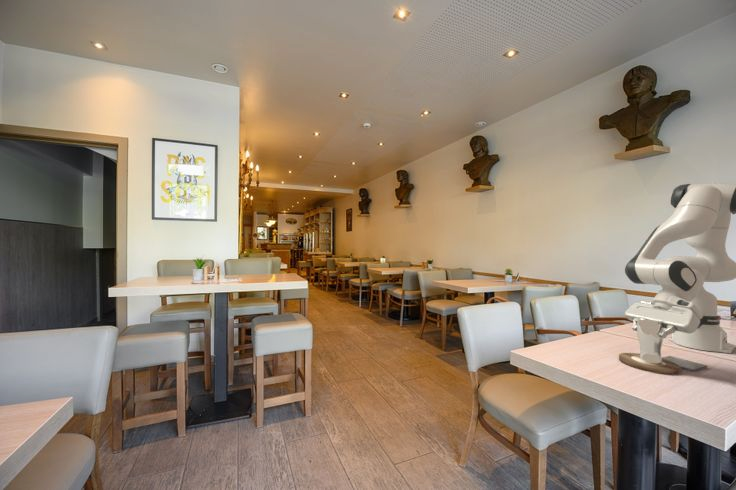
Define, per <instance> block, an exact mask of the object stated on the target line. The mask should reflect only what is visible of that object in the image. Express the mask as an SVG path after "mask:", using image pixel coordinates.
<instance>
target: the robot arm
mask: <svg viewBox="0 0 736 490" xmlns="http://www.w3.org/2000/svg"><path fill="white" fill-rule="evenodd" d="M669 200H670V205H671V206H672V207H673V208H674V209H675V210H674V212H673V213H672V214H671V215H670V216H669V218H667V219H666V221H664V222H663V223H661V224H659V225H658V226H657V227H655V228H654V230H653V231H652V232H651V234H649V236H648V238H646V240H645V241H644V243H643V245H641V246H640V249H639V250H638V251H637V252H636V254H635V255H634V256H633V257H632V258H631V259H630V260H629V261H628V262H627V264H626V265H625V267H624V273H625V276H626V277H627V279H629V281H631V282H632V283H634V284H636V285H637V284H638V285H640V284H641V285H655V286H661V290H659V291H658V293H656V295H655V296H654V297H653V299H652V300H651V301H645V300H640V301H637V302H634V303H633V304H632V305H630V306H629V307H628V308H627V309H626V310H625V312H624V316H625V317H626V318H627V319H628V320H629V321H631V322H632V323H633V325H632V326H631V330H632V331H635V332H637V319H638V317H645V318H644V320H651V321H662V323H663V329H664V330H663V331H660V332H659V333H658V336H659V337H662V338H663V339H666V338H667V337H668V336H670V335H671V336H672V337H668V341H670V342H673V343H674V344H676V345H678V346H682V347H686V348H690V349H695V350H699V351H700V350H701V351H707V352H715V353H716V352H717V353H726V354H732V353H733V351H734V350H736V349H735V348H736V345H735V344H733V343H729V342H728V333H727V332H726V331H725V330H724V329H723V328H722V326H721V323H720V321H721V319H722V316H721V315H718V298H717V296H715V295H714V294H713V293H711V292H709V291H707V290H706V289H705V287H704V283H723V282H729V281H733V280H736V261H734V260H733V259H732V258H731V257H730V256H729V255H728V253H727V249H726V241H727V236H728V232H729V229H730V225H731V220H732V215H736V184H734V183H726V182H725V183H723V182H722V183H721V182H720V183H718V182H716V183H715V182H714V183H694V184H691V183H685V184H680V185H678V186H676V187H675V188H673V190H672V192H671V193H670V197H669ZM683 239H685V243H686V244H687V245H688V246H690V247H691V248H694V249H695V251H696V253H695V256H683V255H682V256H673V257H672V256H671V257H667V258H664V259H656V258H657V257H658V255H659V254H660V253H661V252H662V250H663V249H664V247H666V246H667V245H669V244H671V243H674V242H676V241H680V240H683Z"/></svg>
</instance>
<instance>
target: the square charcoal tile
mask: <svg viewBox="0 0 736 490" xmlns="http://www.w3.org/2000/svg"><path fill="white" fill-rule="evenodd" d="M661 358H662V359H666V360H669V361H671V362H674V363H676V364H678V365H679V366H680V367H681V370H684V371H688V372H692V373H693V372H698V371H701V370H704V369H708V365H706V364H702V363H698V362H695V361H692V360H687V359H683V358H680V357H675V356H671V355H667V356H661Z"/></svg>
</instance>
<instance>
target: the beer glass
mask: <svg viewBox="0 0 736 490" xmlns="http://www.w3.org/2000/svg"><path fill="white" fill-rule="evenodd" d="M644 318H645V317H638V319H637V331H636V335H637V339H638V344H639V347H640V350H639V354H640V355H639V359H640V360H641V361H644V362H647V363H652V364H662V363H663V362H662V346H663V344H664V338H662V337H659V336H658V333H659V332H660V331H663V330H665V328H663V323H662V321H651V320H644Z"/></svg>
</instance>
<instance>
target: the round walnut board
mask: <svg viewBox="0 0 736 490" xmlns="http://www.w3.org/2000/svg"><path fill="white" fill-rule="evenodd" d="M639 355H640V353H635V352H623V353H622V352H621V353H618V360H619V361H620V362H621V363H622V364H624V365H626V366H628V367H631V368H634V369H637V370H641V371H644V372H648V373H649V372H650V373H654V374H658V375H659V374H660V375H672V376H673V375H679V374H681V370H682V369H681V367H680V366H679V365H678V364H676V363H674V362H671V361H669V360H666V359H662V362H663V363H662V364H652V363H647V362H644V361H641V360H640V359H639Z"/></svg>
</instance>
